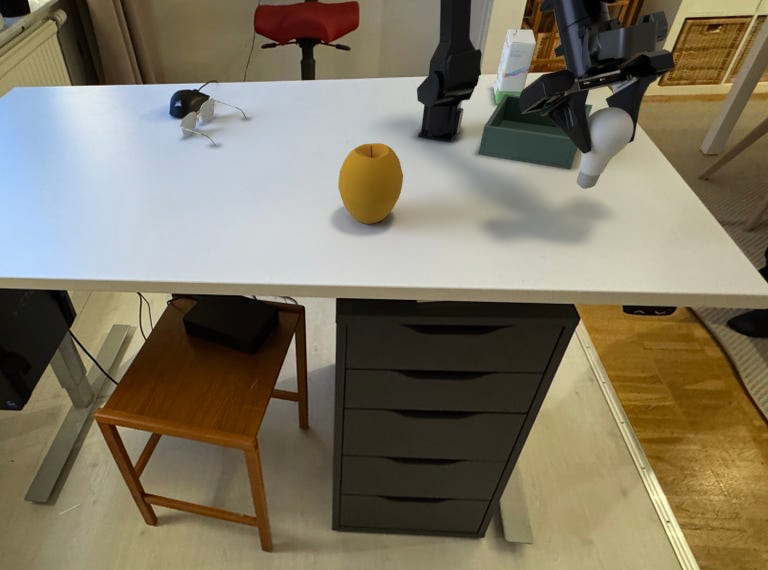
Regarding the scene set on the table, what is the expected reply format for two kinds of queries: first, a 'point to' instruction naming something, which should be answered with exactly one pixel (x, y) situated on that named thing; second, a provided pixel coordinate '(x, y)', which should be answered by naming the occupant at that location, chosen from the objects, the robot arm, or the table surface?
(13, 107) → the table surface
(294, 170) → the table surface
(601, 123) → the lightbulb
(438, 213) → the table surface
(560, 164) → the bin
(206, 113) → the eyeglasses
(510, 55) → the ink box
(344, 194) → the apple
